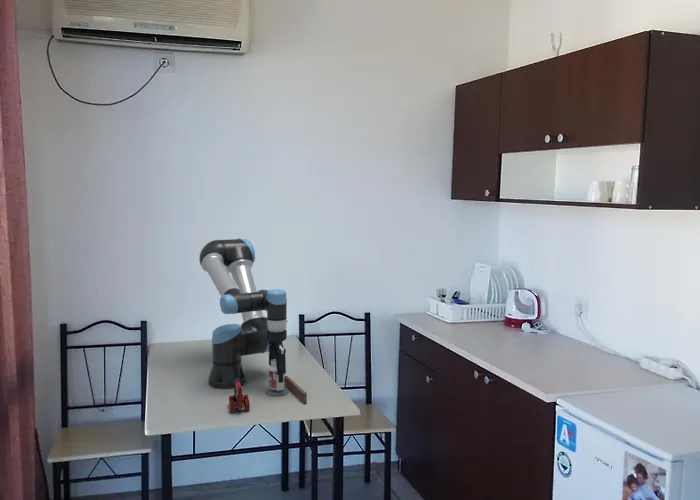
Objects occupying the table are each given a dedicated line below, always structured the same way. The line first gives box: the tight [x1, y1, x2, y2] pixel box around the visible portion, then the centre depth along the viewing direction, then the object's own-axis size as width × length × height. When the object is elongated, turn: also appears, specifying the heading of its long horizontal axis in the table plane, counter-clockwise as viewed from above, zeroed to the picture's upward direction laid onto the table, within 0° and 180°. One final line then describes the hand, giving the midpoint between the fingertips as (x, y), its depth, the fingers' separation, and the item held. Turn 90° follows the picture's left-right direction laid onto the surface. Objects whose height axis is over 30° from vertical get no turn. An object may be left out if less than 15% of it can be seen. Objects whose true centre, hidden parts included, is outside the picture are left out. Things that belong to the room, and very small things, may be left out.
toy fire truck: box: [228, 379, 251, 413], centre depth 223 cm, size 7×12×10 cm, turn 14°
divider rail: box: [285, 375, 308, 405], centre depth 238 cm, size 1×22×4 cm, turn 26°
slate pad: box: [265, 387, 290, 397], centre depth 240 cm, size 9×9×1 cm
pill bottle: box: [268, 359, 286, 390], centre depth 240 cm, size 6×6×11 cm
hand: (277, 387), depth 240 cm, fingers closed on pill bottle, 6 cm apart
